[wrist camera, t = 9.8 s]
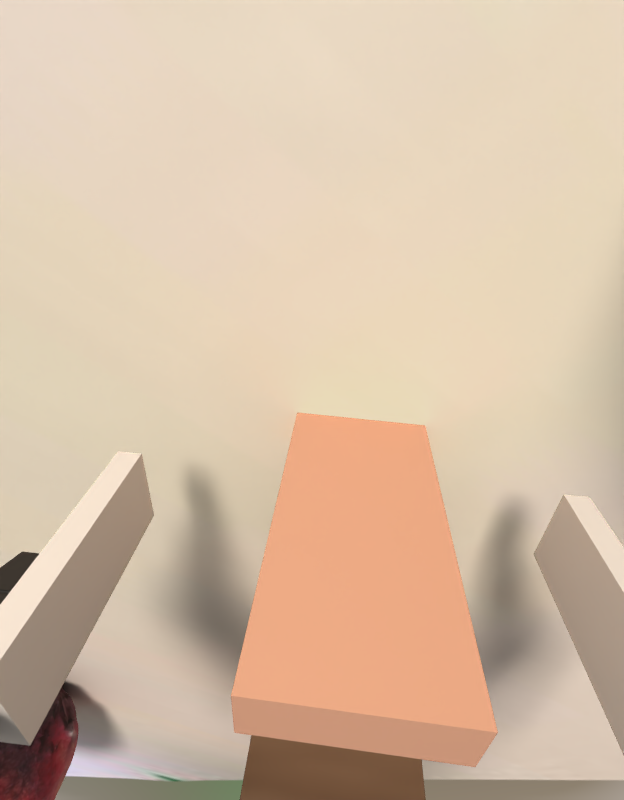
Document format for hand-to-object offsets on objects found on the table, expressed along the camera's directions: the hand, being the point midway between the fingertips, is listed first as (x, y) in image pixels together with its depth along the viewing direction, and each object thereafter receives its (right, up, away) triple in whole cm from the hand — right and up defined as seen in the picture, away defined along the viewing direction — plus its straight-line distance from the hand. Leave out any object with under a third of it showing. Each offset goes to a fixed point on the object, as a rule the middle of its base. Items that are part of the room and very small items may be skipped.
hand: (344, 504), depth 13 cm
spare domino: (+1, +2, +3) cm, 4 cm away
